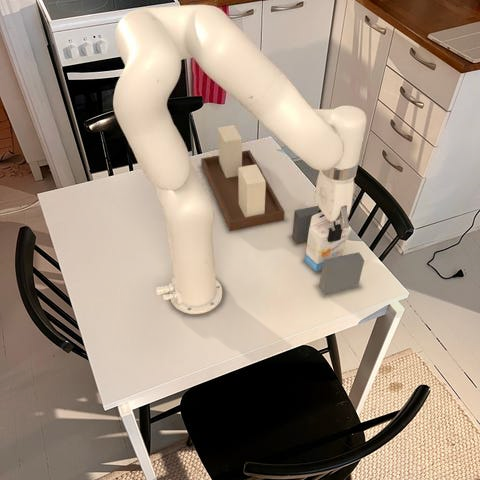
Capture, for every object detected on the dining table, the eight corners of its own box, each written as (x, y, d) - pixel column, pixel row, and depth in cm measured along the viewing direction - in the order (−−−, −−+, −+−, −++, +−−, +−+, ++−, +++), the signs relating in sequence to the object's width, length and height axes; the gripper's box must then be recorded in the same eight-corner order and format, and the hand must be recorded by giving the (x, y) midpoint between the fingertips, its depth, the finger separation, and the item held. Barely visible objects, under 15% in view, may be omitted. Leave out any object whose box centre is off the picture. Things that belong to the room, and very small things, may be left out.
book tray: (229, 231, 136) (229, 222, 134) (201, 166, 156) (201, 158, 153) (283, 220, 139) (284, 211, 137) (249, 158, 159) (249, 150, 156)
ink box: (316, 273, 126) (323, 227, 115) (304, 261, 129) (309, 215, 117) (342, 260, 129) (351, 214, 118) (329, 249, 132) (337, 203, 120)
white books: (247, 221, 137) (247, 184, 128) (219, 163, 155) (217, 127, 146) (264, 218, 138) (265, 181, 129) (234, 160, 156) (234, 124, 147)
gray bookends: (323, 295, 121) (328, 268, 115) (291, 237, 135) (294, 210, 128) (357, 287, 123) (364, 260, 116) (322, 230, 136) (327, 203, 130)
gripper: (308, 148, 112) (300, 212, 126) (339, 193, 102) (327, 258, 115) (339, 142, 113) (328, 207, 127) (373, 186, 103) (357, 251, 117)
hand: (328, 231), depth 121 cm, fingers closed on ink box, 6 cm apart
